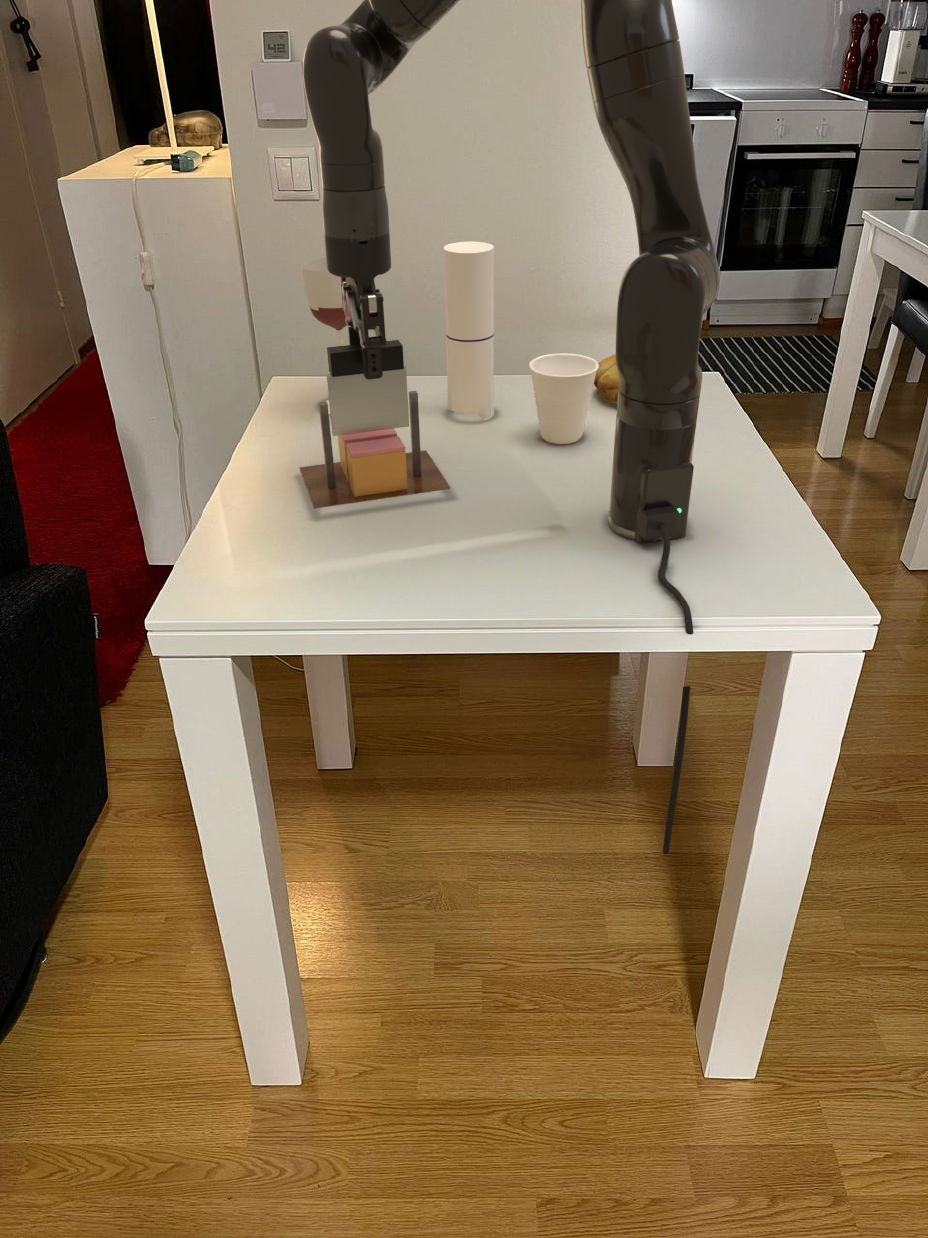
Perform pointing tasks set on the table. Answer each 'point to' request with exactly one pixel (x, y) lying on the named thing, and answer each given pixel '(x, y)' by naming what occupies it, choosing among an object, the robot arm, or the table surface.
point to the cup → (562, 394)
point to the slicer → (334, 488)
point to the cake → (373, 461)
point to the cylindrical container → (470, 327)
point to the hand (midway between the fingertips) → (366, 366)
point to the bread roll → (607, 379)
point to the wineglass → (324, 296)
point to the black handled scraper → (366, 391)
